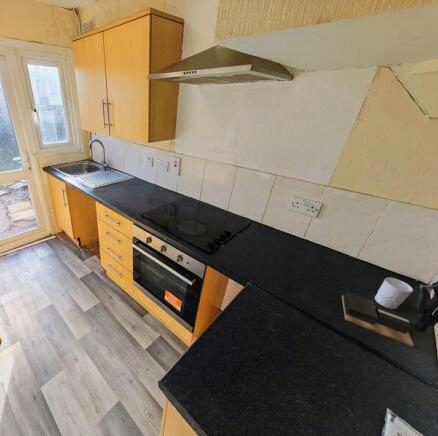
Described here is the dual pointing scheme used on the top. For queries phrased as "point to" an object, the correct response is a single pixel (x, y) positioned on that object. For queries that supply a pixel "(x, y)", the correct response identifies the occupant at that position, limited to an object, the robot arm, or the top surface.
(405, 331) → the loose pad
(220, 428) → the top surface
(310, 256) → the top surface
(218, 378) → the top surface
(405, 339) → the mount board
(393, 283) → the white cup
